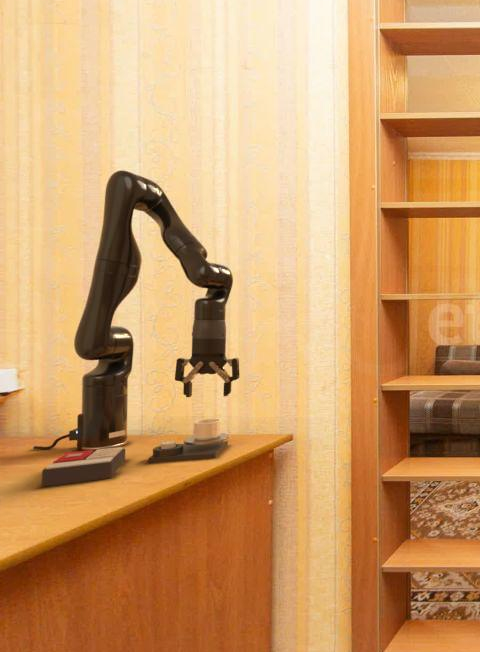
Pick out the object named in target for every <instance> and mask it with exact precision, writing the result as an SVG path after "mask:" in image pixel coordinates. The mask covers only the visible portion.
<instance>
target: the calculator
mask: <svg viewBox="0 0 480 652" xmlns="http://www.w3.org/2000/svg"><path fill="white" fill-rule="evenodd" d="M125 461H126V448H123V446H120V447H117V448H108V449H98V450H96V451H94V450H88V451H84V450H78V451H69V452H66V453H64V454H62V456H59V457H58V458H57V459H55V460H54V461H52V463H50V464H49V465H48V466H46V467H45V468H43V469H42V470H41V487H42V488H45V487H46V488H47V487H53V486H61V485H70V484H78V483H84V482H92V481H93V482H94V481H99V480H106V479H112V478H113V477H114V476H115V475H116V472H117V470H118V469H119V468H120V466H121V465H122V464H124V462H125Z"/></svg>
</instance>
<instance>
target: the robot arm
mask: <svg viewBox="0 0 480 652" xmlns="http://www.w3.org/2000/svg"><path fill="white" fill-rule="evenodd" d="M105 186H106V187H105V193H104V203H103V205H104V206H103V219H102V227H101V232H100V239H99V244H98V248H97V252H96V255H95V259H94V265H93V270H92V275H91V277H92V278H91V281H90V286H89V291H88V295H87V298H86V303H85V307H84V309H83V312H82V315H81V318H80V321H79V323H78V326H77V329H76V332H75V336H74V339H73V340H74V341H73V347H74V352H75V353H76V355H77V356H78V357H79V358H81V359H82V360H84V361H97V364H96V366H95V367H94V368H93V369H92V370H90V371H88V372H86V373H85V374H83V375H82V377H81V413H79V414H77V416H76V417H77V423H76V428H73V429H71V430H69V431H68V434H65V435H61V436H59V437H57V438H56V439H55V440H54V441H53V443H52V444H51V445H49V446H42V445H41V446H38V445H34V446H33V447H32V449H33V450H51V449H53V448H55V447H56V446H57V444H58V443H59V442H60V441H61V440H65V439H66V438H68V441H76V451H88V450H94V452H95V451H96V450H98V449H108V448H117V447H123V446H126V445H127V444H128V401H129V400H128V398H129V396H128V395H129V393H128V392H129V377H130V375H131V373H132V371H133V363H134V362H133V361H134V360H133V359H134V349H135V345H134V344H135V343H134V337H133V335H132V333H131V332H130V330H129V329H128V328H126V327H124V326H121V325H120V326H119V325H112V323H113V319H114V316H115V313H116V311H117V310H118V307H120V305H121V303H123V301H124V300H125V299H126V298H127V297H128V296H129V295H130V293H131V292H132V291H133V290H134V289H135V287H136V285H137V284H138V281H139V277H140V273H141V268H142V263H143V257H142V252H141V251H140V247H139V245H138V242H137V240H136V237H135V235H134V232H133V216H134V212H135V211H137V212H138V211H139V212H142V213H144V214H146V215H148V217H150V218H151V219H153V221H154V222H155V223H156V224H157V225H158V227H159V232H160V237H161V240H162V242H163V244H164V245H165V247H166V248H167V249H168V251H170V253H171V254H172V255H173V256H174V257H175V259H177V261H179V263H180V267H181V269H182V271H183V273H184V275H185V277H186V279H187V280H188V281H189V283H191V284H192V285H194V286H195V287H197V288H200V289H206V292H205V295H204V296H203V297H199V298H197V299H195V301H194V305H193V322H192V323H193V324H192V331H191V356H190V358H185V357H179V358H177V359H176V364H175V373H174V381H176V382H181V383H182V384H183V391H182V392H183V396H185V397H186V398H190V397H191V398H192V395H193V382H192V380H194V379H195V377H196V376H198V374H199V375H206V374H207V375H215V374H216V375H218V376H219V378H221V379H222V380H223V397H228V396H229V395H230V394H231V392H232V382H234V381H237V380H239V379H240V358H238V357H234V358H227V356H226V351H227V350H226V346H227V345H226V344H227V324H226V317H227V316H226V313H227V312H226V310H227V309H226V306H227V303H228V300H229V297H230V296H231V295H230V294H231V291H232V288H233V284H234V276H233V273H232V271H231V269H230V268H229V267H227V266H226V265H225V264H221V263H213V262H209V261H208V260H207V258H208V250H207V249H206V247H205V246H204V245H203V244H202V243H201V241H200V240H199V239H198V238H197V237H196V236H195V235H194V234H193V233H192V232H191V230H190V229H189V228H188V227H187V226H186V224H185V223H184V221H183V220H182V218H181V217H180V216H179V214H178V213H177V211H176V209H175V208H174V206H173V204H172V203H171V201H170V200H169V198H168V196H167V194H166V193H165V192H164V190H163V189H162V187H161V186H160V185H159V184H158V183H157V182H155V181H154V180H152V179H149V178H147V177H144V176H141V175H139V174H137V173H134V172H132V171H128V170H124V169H122V170H116V171H115V172H113V173H112V174H111V175H110V177H108V180H107V182H106V185H105ZM189 364H190V366H191V367H192V369H191V370H190V371H189V373H188V374H187V375H186V376H185V367H187V366H188V365H189ZM227 364H228V366H229V367H231V375H230V374H229V373H228V371H227V370H226V369H225V366H226V365H227Z"/></svg>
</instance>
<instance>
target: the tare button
mask: <svg viewBox="0 0 480 652" xmlns="http://www.w3.org/2000/svg"><path fill="white" fill-rule="evenodd" d="M176 444H177V442H176V440H167V441H163V442H161V443H160V446H161V449H170V448H175V447H176Z"/></svg>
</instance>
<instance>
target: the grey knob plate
mask: <svg viewBox="0 0 480 652" xmlns="http://www.w3.org/2000/svg"><path fill="white" fill-rule="evenodd" d="M228 446H229V440H225V441H221V442H218V443H212V444H205V445H188V444H184V443H176V447H175V448H170V449H161V445H157V446H155V447H153V448H152V455H151V456H149V457H148V464H155V463H156V464H157V463H169V462H171V463H172V462H181V461H182V462H183V461H184V462H185V461H196V460H211V459H216V458H217V457H218V456H219V455H220V454H221V453H222V452H223V451H224V450H225V449H226V448H227V447H228Z"/></svg>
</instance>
